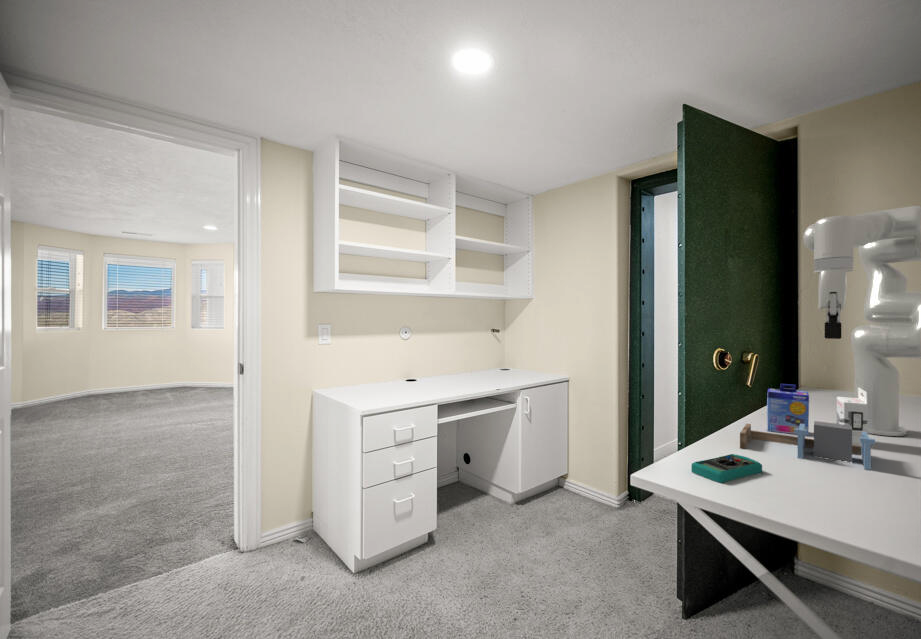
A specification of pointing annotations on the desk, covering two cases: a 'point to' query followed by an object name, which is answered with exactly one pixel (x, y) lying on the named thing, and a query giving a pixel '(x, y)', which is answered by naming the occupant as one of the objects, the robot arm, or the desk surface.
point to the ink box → (853, 414)
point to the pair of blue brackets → (864, 440)
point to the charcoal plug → (833, 441)
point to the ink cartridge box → (787, 409)
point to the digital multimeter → (726, 468)
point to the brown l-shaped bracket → (778, 439)
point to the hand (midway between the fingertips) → (832, 338)
